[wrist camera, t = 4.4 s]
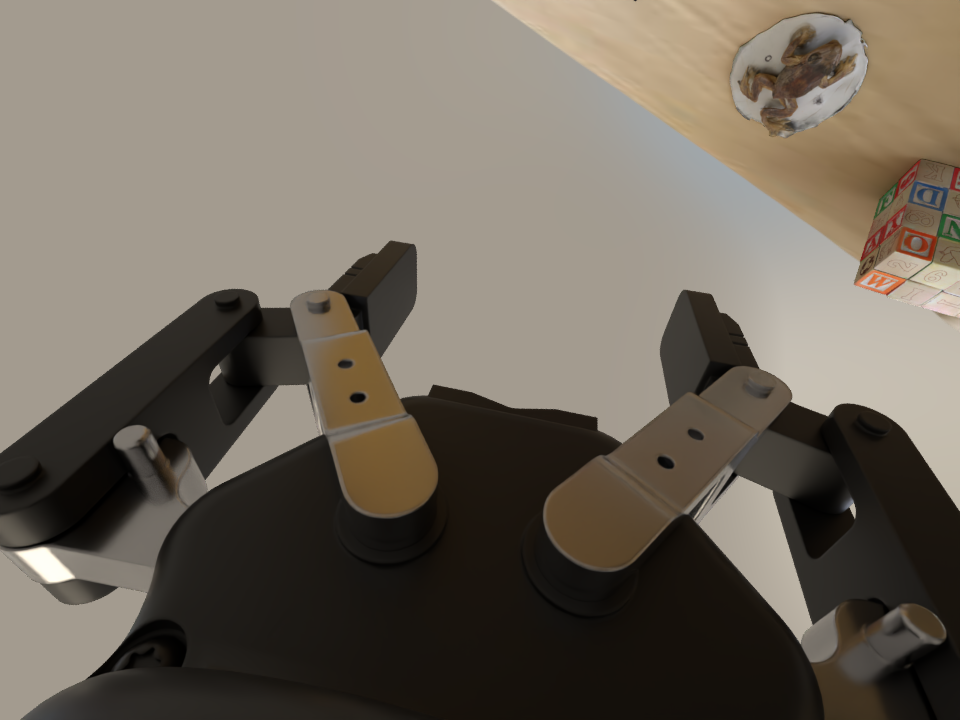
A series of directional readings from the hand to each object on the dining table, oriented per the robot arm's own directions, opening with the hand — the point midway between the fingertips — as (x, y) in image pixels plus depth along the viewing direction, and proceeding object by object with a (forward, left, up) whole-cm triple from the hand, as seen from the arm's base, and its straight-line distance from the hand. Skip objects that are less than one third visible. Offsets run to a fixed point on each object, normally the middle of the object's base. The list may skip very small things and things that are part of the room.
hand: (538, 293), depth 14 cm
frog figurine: (+17, +16, -44) cm, 50 cm away
